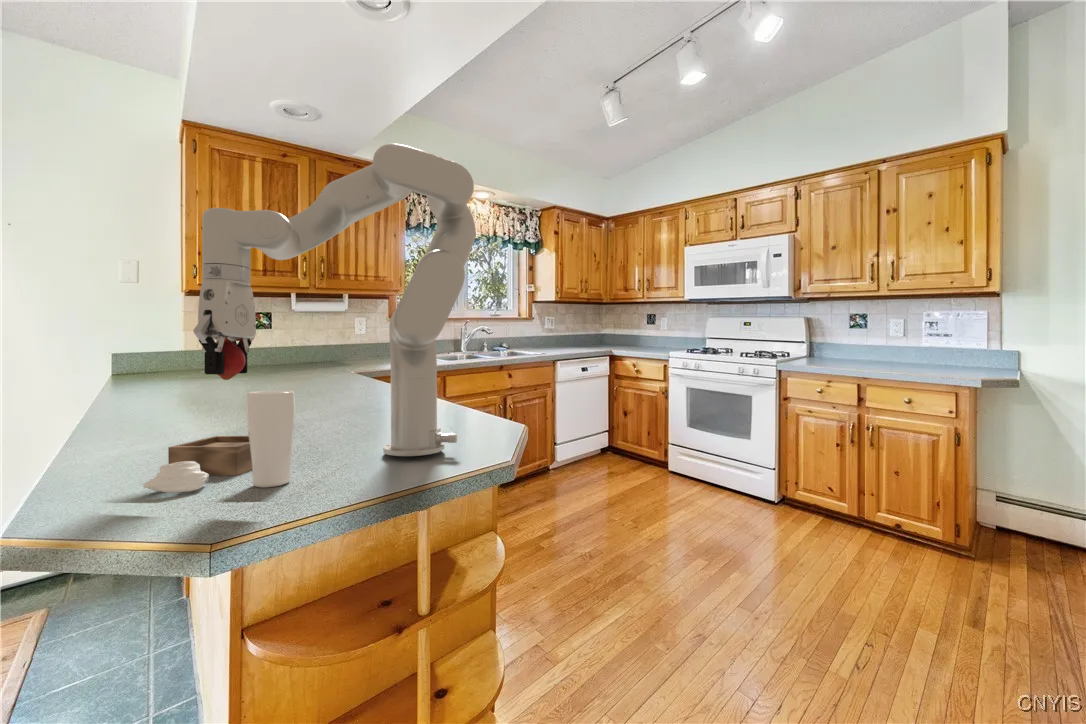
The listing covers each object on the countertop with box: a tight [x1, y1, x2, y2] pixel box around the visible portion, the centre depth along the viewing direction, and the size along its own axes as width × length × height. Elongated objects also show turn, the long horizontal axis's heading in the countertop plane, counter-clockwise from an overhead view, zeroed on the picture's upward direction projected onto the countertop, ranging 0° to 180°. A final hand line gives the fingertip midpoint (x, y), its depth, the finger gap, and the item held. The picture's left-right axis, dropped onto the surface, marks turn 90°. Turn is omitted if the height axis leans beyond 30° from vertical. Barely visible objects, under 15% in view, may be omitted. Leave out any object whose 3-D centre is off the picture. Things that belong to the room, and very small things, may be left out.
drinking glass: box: [246, 389, 296, 489], centre depth 76 cm, size 7×7×15 cm
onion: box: [216, 337, 246, 381], centre depth 87 cm, size 6×6×8 cm
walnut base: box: [167, 435, 252, 477], centre depth 87 cm, size 12×12×5 cm
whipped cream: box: [142, 461, 210, 494], centre depth 72 cm, size 8×7×5 cm
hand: (226, 372), depth 87 cm, fingers closed on onion, 5 cm apart
